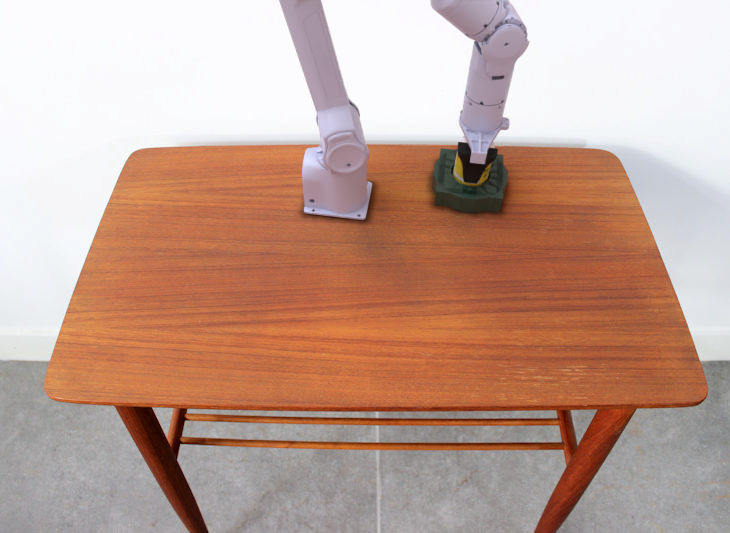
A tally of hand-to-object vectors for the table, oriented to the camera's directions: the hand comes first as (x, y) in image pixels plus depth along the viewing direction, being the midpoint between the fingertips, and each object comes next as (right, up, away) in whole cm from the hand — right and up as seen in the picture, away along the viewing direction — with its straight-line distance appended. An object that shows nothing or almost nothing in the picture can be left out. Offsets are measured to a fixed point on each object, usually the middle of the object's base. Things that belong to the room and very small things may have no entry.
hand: (471, 168), depth 92 cm
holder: (0, -2, +3) cm, 4 cm away
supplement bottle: (0, -2, +2) cm, 3 cm away
